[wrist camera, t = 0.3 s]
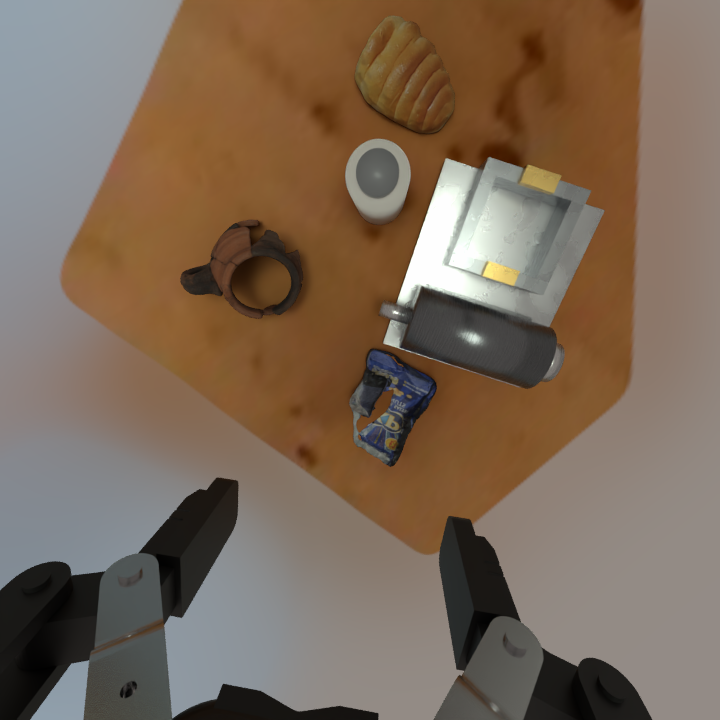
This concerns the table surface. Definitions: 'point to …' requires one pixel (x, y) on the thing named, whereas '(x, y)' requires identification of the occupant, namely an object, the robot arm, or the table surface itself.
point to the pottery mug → (233, 253)
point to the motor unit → (493, 271)
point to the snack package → (403, 411)
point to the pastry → (405, 77)
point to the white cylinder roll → (378, 180)
